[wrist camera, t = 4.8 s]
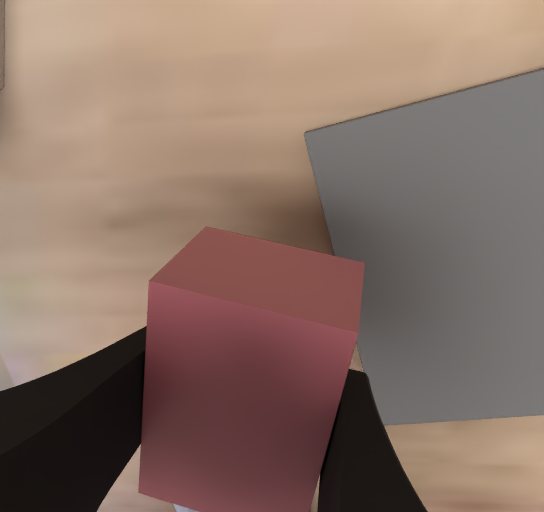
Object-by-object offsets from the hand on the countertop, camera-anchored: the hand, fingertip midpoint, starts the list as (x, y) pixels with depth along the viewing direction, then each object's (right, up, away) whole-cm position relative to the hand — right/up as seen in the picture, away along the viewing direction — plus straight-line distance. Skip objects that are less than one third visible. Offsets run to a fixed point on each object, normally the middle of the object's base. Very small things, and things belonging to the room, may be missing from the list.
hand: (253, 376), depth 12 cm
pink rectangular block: (0, +1, +1) cm, 2 cm away
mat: (+9, +3, +6) cm, 12 cm away
